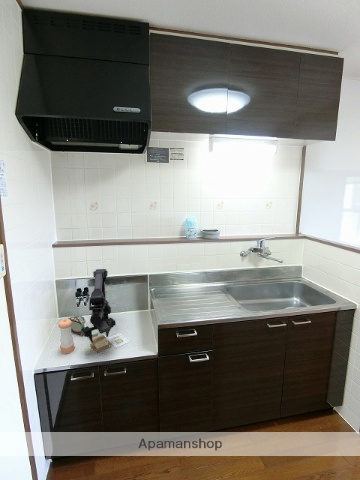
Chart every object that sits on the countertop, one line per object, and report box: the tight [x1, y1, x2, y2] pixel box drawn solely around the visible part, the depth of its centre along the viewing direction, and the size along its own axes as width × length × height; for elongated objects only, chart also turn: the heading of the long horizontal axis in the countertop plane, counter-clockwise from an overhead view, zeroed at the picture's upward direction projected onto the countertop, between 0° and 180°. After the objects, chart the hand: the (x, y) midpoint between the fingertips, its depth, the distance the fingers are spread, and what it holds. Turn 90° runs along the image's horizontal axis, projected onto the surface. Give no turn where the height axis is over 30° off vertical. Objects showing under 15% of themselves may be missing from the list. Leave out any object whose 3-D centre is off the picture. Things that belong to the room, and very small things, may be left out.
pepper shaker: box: [57, 318, 75, 355], centre depth 142 cm, size 7×7×19 cm
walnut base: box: [90, 342, 111, 354], centre depth 147 cm, size 8×8×2 cm
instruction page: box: [106, 332, 130, 349], centre depth 154 cm, size 12×9×1 cm
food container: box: [67, 315, 86, 337], centre depth 161 cm, size 12×6×10 cm, turn 65°
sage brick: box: [92, 329, 100, 338], centre depth 155 cm, size 4×4×4 cm
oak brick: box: [92, 333, 109, 349], centre depth 147 cm, size 6×6×4 cm
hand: (99, 339), depth 146 cm, fingers open, 9 cm apart
